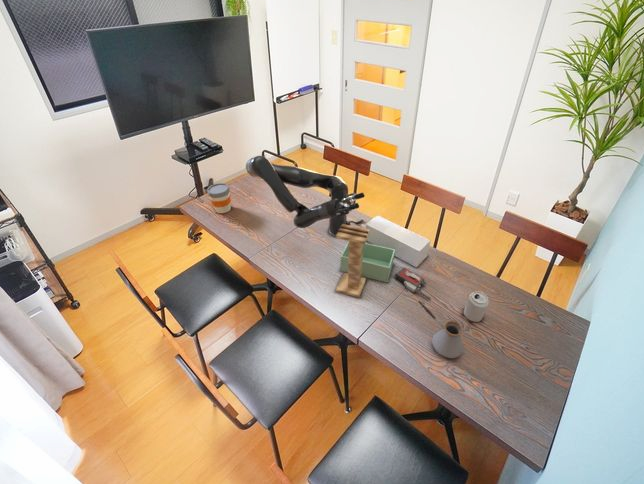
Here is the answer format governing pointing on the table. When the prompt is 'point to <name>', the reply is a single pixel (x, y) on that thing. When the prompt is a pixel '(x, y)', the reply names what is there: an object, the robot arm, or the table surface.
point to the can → (476, 306)
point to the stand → (353, 259)
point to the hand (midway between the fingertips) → (361, 199)
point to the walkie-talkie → (411, 280)
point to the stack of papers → (398, 240)
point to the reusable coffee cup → (220, 197)
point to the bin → (372, 261)
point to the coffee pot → (447, 338)
